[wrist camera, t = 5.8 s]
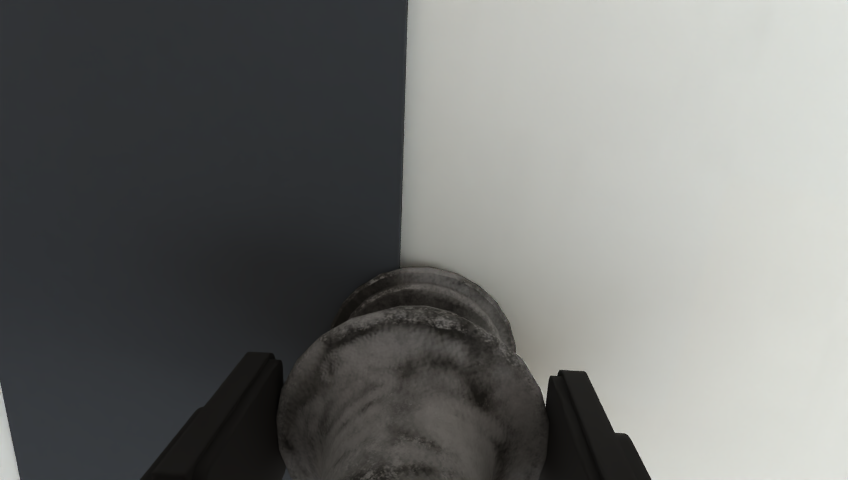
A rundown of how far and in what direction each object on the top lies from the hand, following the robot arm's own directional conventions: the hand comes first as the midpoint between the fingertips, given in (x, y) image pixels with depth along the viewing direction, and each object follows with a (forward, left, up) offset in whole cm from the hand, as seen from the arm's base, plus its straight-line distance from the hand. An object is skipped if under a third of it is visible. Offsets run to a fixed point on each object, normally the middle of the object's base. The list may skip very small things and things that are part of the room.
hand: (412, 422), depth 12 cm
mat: (-2, -7, -3) cm, 8 cm away
